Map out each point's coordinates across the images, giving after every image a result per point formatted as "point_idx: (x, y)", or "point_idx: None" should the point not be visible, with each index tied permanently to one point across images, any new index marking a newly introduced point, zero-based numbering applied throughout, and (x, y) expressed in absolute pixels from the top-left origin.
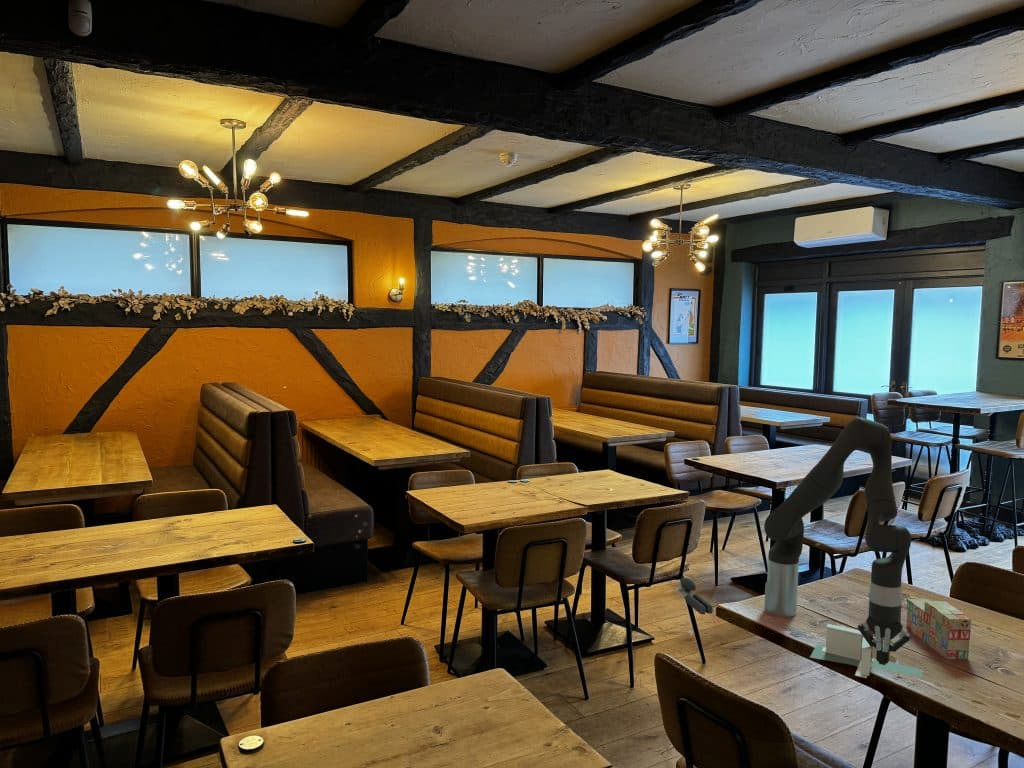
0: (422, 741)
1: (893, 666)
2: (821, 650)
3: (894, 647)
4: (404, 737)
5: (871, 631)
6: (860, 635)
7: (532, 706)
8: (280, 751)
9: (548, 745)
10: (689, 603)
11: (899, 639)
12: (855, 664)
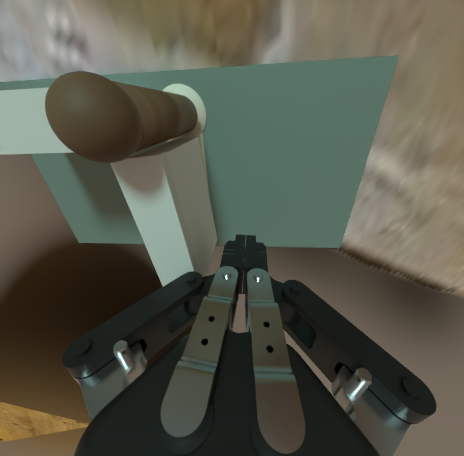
0: (25, 429)
1: (274, 111)
2: None
3: (292, 328)
4: (16, 428)
5: (132, 153)
6: None
7: (11, 405)
8: (5, 438)
9: (66, 423)
10: None
11: (328, 340)
12: None
